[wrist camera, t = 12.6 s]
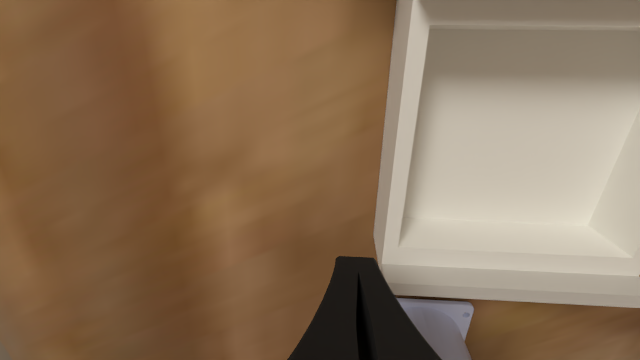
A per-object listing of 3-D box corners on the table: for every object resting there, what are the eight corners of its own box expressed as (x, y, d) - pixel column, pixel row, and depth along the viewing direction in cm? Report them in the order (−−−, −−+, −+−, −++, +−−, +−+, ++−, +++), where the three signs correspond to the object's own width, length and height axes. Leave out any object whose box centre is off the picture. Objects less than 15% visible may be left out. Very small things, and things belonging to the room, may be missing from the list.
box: (580, 244, 20) (658, 308, 15) (373, 235, 21) (383, 294, 16) (695, -16, 14) (887, -48, 9) (398, -16, 15) (427, -46, 10)
